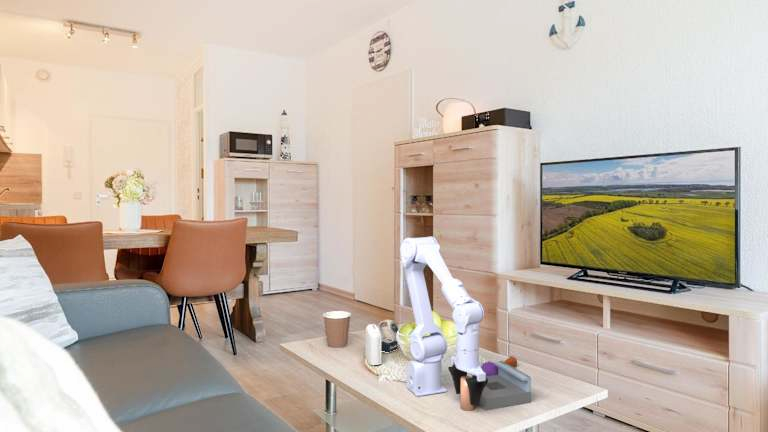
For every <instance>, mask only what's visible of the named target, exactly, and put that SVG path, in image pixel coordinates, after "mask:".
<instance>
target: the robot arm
mask: <svg viewBox="0 0 768 432" xmlns="http://www.w3.org/2000/svg"><path fill="white" fill-rule="evenodd" d="M399 252H400V255H401V261H402V265H403V269H404V274H405V279H406V283H407V290H408V292H409V293H408V294H409V299H410V303H411V308H412V313H413V318H414V323H415V328H414V329H413V330H412V331H411V333H410V334H409V338H410V345H409V347H410V348H409V349H410V353H411V355H412V357H413V359H412V360H410V361H408V363H407V368H406V385H405V386H406V388H407V389H409V391H410V392H412V393H413V394H414V395H415V396H416V397H420V396H422V397H423V396H428V395H434V394H440V393H446V392H447V391H448V390H447V389H446V388H445V387H444V386H442V360H443V359H444V355H445V354H446V353H447V351H448V341H447V339H446V336H445V335H444V332H443V329H442V327H440V326H439V325H437V324H436V323H435V320H434V315H433V312H432V306H431V302H430V298H429V297H430V296H429V293H428V292H429V291H428V288H427V282H426V278H425V274H424V269H425V268H426V266H428V267H429V268H430V270H431V271H432V272H433V274H434V275H435V276H436V278H437V279H438V281H439V282H440V283H441V293H442V294H443V296H444V298H445V299H446V301H447V302H448V304H449V306H450V308H451V309H452V310H453V312H452V313H451V317H452V320H453V322H454V326H455V327H454V328H455V331H456V355H453V356H450V358H451V359H450V364H451V365H452V366H448V368H447V369H448V371H449V373H450V375H451V378H452V381H453V382H452V383H453V385H454V390H455V394H456V395H460V393H461V377H462V376H468V374H469V375H470V376H471V377H472V378H465V380H466V383H467V385H468V389H469V397H470V404H471V405H474V406H477V405H478V406H479V402H480V398H481V394H482V392H483V389H484V387H485V386H486V384H487V383H488V379H487V378H486V373H485V372H483V370H482V369H481V366H482V364H483V363H482V362H480V361H479V360H480V359H479V358H480V356H479V355H480V350H479V349H480V323H481V322H482V321H483V319H484V316H485V311H484V308H483V306H482V304H481V302H479V301H477V300H475V299H474V298H473V297H471V296H470V294H469V293H468V292H467V291H468V290H467V289H466V288H465V287H464V286H463V283H462V281H461V280H460V279H458V278H454V277H453V276H452V273H451V272H450V270H449V268H448V266H447V264H446V262H445V261H444V258H443V256H442V255H441V246H440V244H439V243H438V241H437V239H436V238H435V237H434V236H431V235H430V236H423V237H406V238H405V239H404V240H403V242H401V245H400V247H399ZM425 335H426V336H425Z"/></svg>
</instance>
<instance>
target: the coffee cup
mask: <svg viewBox="0 0 768 432" xmlns="http://www.w3.org/2000/svg"><path fill="white" fill-rule="evenodd" d="M322 316H323V320H324V322H323V323H324V330H325V338H326V344H327V348H329V349H331V350H342V349H345V348H346V347H347V345H348V340H349V339H348V338H349V330H350V324H351V323H350V322H351V317H352V313H351V312H348V311H343V310H333V311H328V312H324V313H323V314H322Z"/></svg>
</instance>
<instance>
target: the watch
mask: <svg viewBox="0 0 768 432" xmlns="http://www.w3.org/2000/svg"><path fill="white" fill-rule="evenodd" d="M384 323H386V325H387V331H388V332H389V334H390V335H391V336H392V339H387V336H386V334H385V331H384V328H383V325H384ZM377 327H378V328H379V330H380V332H381V351H385V352H390V351H393V350H396V349H397V350H398V340H397V339H396V333H397V331H398V330H399V329H400V326H399V325H398V323H397V322H396V321H395V320H392V319H385V320H382V321H380V322H379V324H378V325H377ZM397 350H396V351H397ZM393 352H394V351H393Z"/></svg>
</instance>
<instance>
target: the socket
mask: <svg viewBox="0 0 768 432" xmlns="http://www.w3.org/2000/svg"><path fill="white" fill-rule="evenodd" d="M493 363H494V364H495V365H497V366H498V367H499V368H498V375H492V376H486V378H487V379H488V383H487V384H486V386H485V387H484V389H483V392H482V394H481V398H480V402H479V404H478V406H479V407H481V408H483V409H484V410H485V411H491V410H496V409H502V408H507V407H512V406H513V407H514V406H519V405H524V404H530V403H531V401H532V399H531V398H532V376H530V375H528V374H526V373H525V372H522V371H520V370H519V369H517V368H515V367H512V366H510V365H508V364H506V363H504V361H503V360H498V361H494V362H493Z"/></svg>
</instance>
